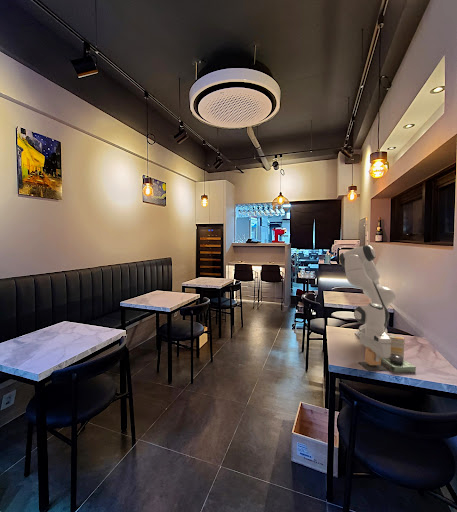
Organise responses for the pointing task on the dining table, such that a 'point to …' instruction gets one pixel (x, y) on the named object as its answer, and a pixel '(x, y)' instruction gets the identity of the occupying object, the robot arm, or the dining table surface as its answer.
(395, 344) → the supplement box
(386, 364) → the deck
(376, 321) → the robot arm
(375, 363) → the stepped tan block
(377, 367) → the mount pad
